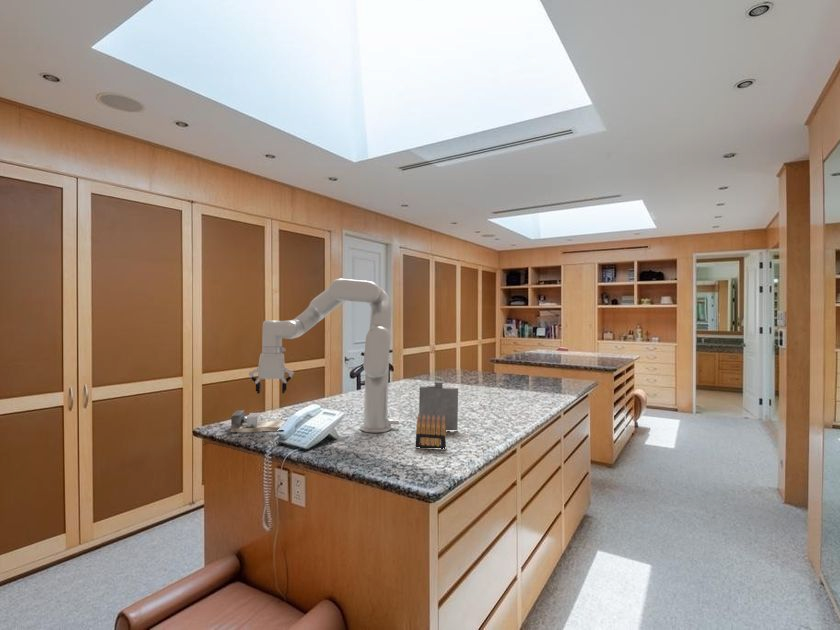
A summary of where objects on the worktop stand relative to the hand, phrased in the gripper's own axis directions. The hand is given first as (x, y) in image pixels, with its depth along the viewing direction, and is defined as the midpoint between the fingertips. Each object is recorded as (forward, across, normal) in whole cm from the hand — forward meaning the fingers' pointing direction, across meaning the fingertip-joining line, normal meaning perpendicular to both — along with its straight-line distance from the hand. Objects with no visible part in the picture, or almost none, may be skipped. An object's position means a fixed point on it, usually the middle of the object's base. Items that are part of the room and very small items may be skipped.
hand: (271, 392), depth 175 cm
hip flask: (+14, -67, +11) cm, 69 cm away
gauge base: (+14, +4, 0) cm, 15 cm away
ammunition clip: (+15, -59, +34) cm, 70 cm away
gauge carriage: (+13, +8, +1) cm, 15 cm away
